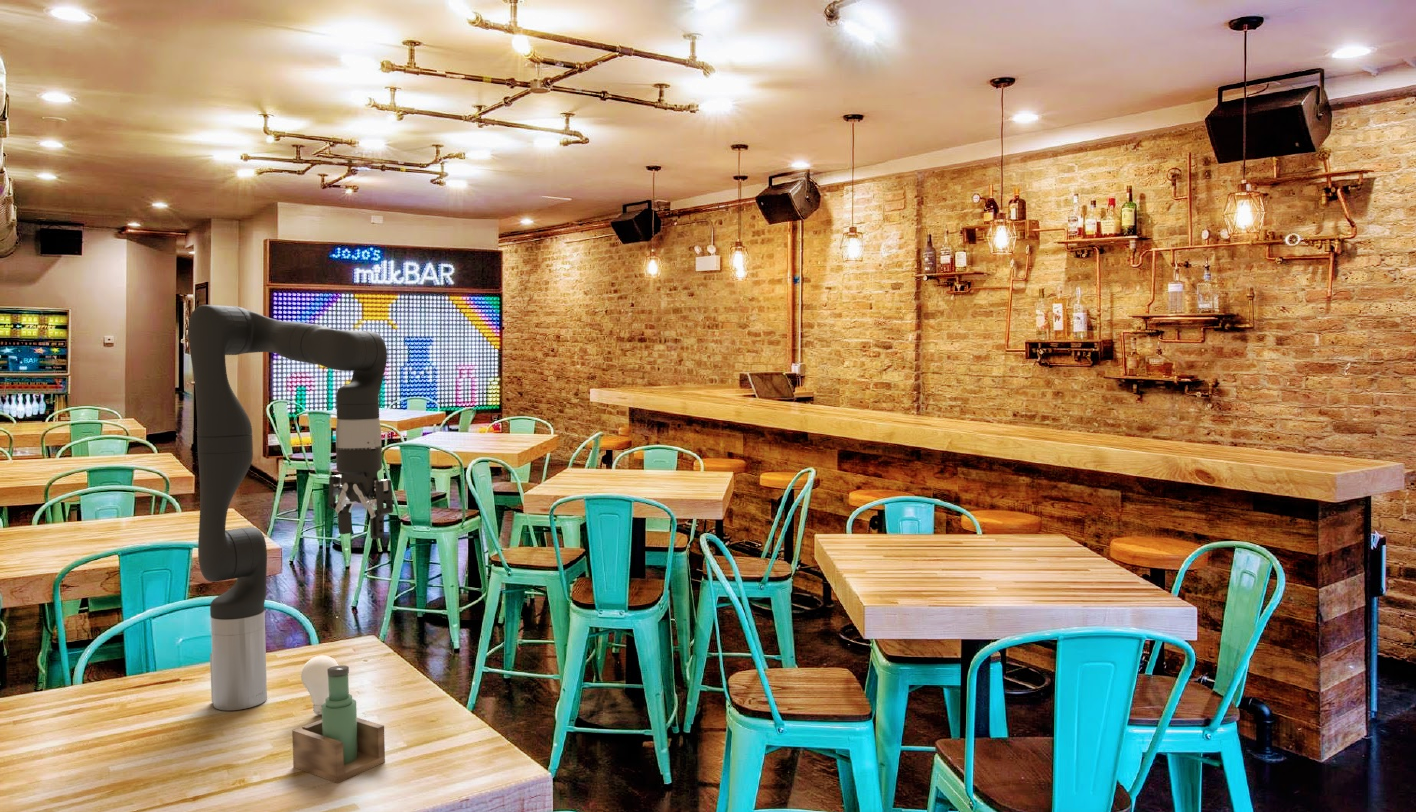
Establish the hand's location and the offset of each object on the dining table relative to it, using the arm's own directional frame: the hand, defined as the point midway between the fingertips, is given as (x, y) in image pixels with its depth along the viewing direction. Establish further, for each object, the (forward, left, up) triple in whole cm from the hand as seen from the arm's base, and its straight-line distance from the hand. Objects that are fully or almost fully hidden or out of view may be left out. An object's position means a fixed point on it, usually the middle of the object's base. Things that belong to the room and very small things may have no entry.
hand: (361, 536), depth 169 cm
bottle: (+10, -13, -33) cm, 37 cm away
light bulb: (-11, -1, -34) cm, 36 cm away
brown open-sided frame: (+10, -13, -34) cm, 38 cm away
